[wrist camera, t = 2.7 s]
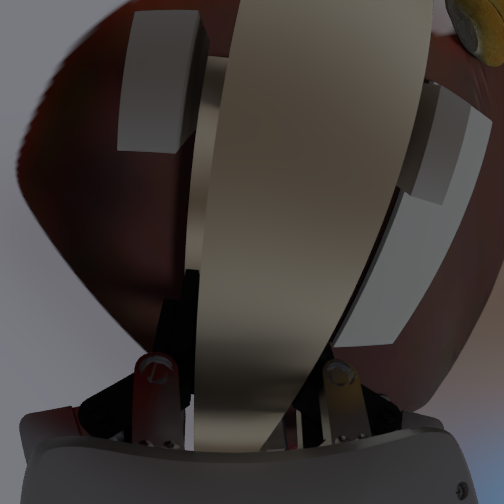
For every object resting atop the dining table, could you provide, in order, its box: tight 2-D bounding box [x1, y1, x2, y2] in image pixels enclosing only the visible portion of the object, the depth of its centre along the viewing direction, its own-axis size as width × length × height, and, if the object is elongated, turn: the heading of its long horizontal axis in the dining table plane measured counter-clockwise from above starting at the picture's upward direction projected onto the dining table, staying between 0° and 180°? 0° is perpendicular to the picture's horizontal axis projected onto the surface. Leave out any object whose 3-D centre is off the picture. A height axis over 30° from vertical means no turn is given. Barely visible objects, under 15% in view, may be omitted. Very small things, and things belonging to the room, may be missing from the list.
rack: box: [117, 10, 471, 452], centre depth 13 cm, size 20×6×13 cm, turn 170°
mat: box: [332, 81, 492, 347], centre depth 21 cm, size 26×8×1 cm, turn 170°
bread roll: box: [445, 0, 504, 66], centre depth 9 cm, size 8×9×4 cm
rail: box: [194, 0, 434, 453], centre depth 9 cm, size 26×3×3 cm, turn 170°
